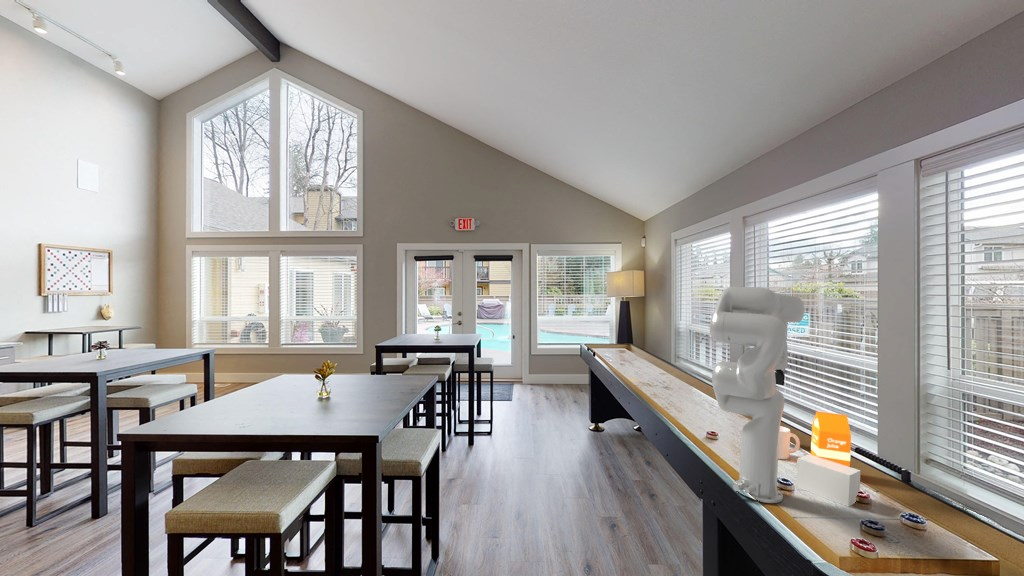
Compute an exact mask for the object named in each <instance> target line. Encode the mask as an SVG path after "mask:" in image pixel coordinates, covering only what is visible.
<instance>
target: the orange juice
mask: <svg viewBox="0 0 1024 576" xmlns="http://www.w3.org/2000/svg"><path fill="white" fill-rule="evenodd" d="M848 419H849V418H848V415H847V414H839V413H832V412H823V411H816V412H815V416H814V418H813V422H812V424H811V441H810V442H811V443H810V455H813V456H816V457H819V458H822V459H826V460H829V461H832V462H835V463H838V464H842V465H845V466H848V467H850V466H851V449H852V448H851V446H852V445H851V444H852V434H851V430H850V429H851V427H850V424H849V420H848Z"/></svg>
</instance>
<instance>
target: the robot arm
mask: <svg viewBox="0 0 1024 576" xmlns="http://www.w3.org/2000/svg"><path fill="white" fill-rule="evenodd" d="M805 309H806V308H805V304H804V302H803V300H802V299H801V298H800V297H798V296H794V295H787V294H782V293H777V292H774V291H773V290H772V289H769V288H767V287H761V286H760V287H757V286H756V287H754V286H749V287H748V286H729V287H726V288H725V289H724V290H723V291H722V292H721V294H720V295H719V297H718V299H717V302H716V304H715V308H714V310H713V314H712V315H711V318H710V321H709V334H710V336H711V338H712V340H714V341H715V342H718V343H721V344H731V345H739V346H747V347H751V348H750V349H748V350H746V351H745V352H744V353H743V354H741V355H740V357H739V358H737V361H734V362H733V361H725V360H723V361H720V362H717V363H716V364H715V365H714V368H713V369H712V372H711V384H712V389H713V392H714V395H715V398H716V399H715V400H716V402H717V405H718V407H719V408H720V409H721V410H722V411H724V412H727V413H732V414H736V415H737V414H738V415H742V416H747V417H750V418H752V419H751V420H750V421H748V422H747V423H745V424H744V426H743V427H742V429H741V434H740V435H741V436H740V438H741V439H740V455H739V456H740V458H739V479H736V480H735V481H734V482H736V483H737V484H734V485H733V484H732V489H733V491H734V492H736V491H740V490H745V492H746V493H749V494H750V495H751V496H753V497H754V498H756V499H757V500H758V501H757V502H759V501H760V502H761V503H766V504H777V503H778V504H779V503H781V502H782V501H783V500H784V497H783V496H784V495H783V493H782V492H781V491H780V490H779V489H777V486H778V485H777V484H778V469H779V459H778V450H779V432H780V426H781V421H782V418H783V413H784V408H785V396H784V394H783V393H782V392H781V391H780V390H779V389H777V385H779V386H784V385H785V374H786V369H787V368H788V365H789V364H788V362H789V361H788V360H789V357H788V356H789V355H788V353H789V352H788V351H789V350H788V342H787V341H788V323H801V322H802V320H803V319H804V316H805V311H806V310H805Z"/></svg>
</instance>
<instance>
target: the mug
mask: <svg viewBox="0 0 1024 576" xmlns="http://www.w3.org/2000/svg"><path fill="white" fill-rule="evenodd" d="M791 438H793V439H794V441H795V444H794V445H795V446H794V447H793V448H790V446H791ZM800 447H801V441H800V438H799V437H798V435H796V433H793V432H791V429H790V428H788V427H785V426H782V425H780V432H779V450H778V460H780V459H786V460H788V459H789V458H790V454H794V453H796V452H797V451H798V450H799V449H800Z"/></svg>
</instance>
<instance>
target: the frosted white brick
mask: <svg viewBox="0 0 1024 576" xmlns="http://www.w3.org/2000/svg"><path fill="white" fill-rule="evenodd" d="M796 461H797V463H796V480H795V481H796V484H795V488H798V489H800V490H803V491H806V492H808V493H811V494H812V495H813V494H814V495H816V496H819V497H822V498H824V499H827V500H829V501H832V502H834V503H837V504H840V505H843V506H845V507H848V508H849V507H852V505H855V502H856V496H857V494H858V492H860V491H861V488H860V487H861V470H860V469H858V468H854V467H848V466H845V465H842V464H838V463H835V462H832V461H829V460H826V459H822V458H819V457H816V456H813V455H811V453H809V454H806V455H803V456H801V457H800V456H799V457H798V458H797V460H796ZM856 503H857V502H856Z"/></svg>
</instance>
